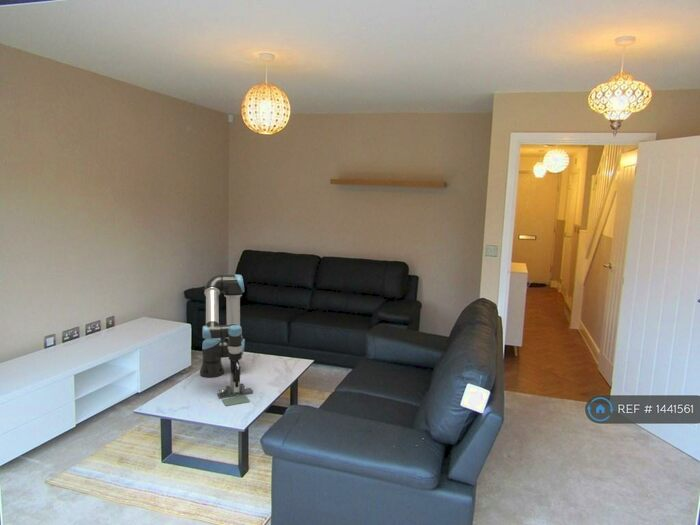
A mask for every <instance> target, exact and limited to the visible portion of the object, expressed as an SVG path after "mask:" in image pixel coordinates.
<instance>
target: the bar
mask: <svg viewBox="0 0 700 525" xmlns="http://www.w3.org/2000/svg"><path fill="white" fill-rule="evenodd" d="M229 374H230V376H229V378H230V379H229V380H230V385H229V386H230V388H231V398H233V397H239V396H241V394H240V384H241V381H240V382H239V392H234V382H233V381H234V371H231V370H229ZM240 376H241V371H240Z"/></svg>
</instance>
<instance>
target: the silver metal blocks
mask: <svg viewBox="0 0 700 525" xmlns="http://www.w3.org/2000/svg"><path fill="white" fill-rule="evenodd" d="M250 394H251V395H252V394H254V390H253V389H252V388H251V387H249V388H248V387H247V388H246V386H245V385H244V383H240V396H245V395H246V396H247V395H250ZM216 397H217V398H218V399H219V400H220V399H221V400H222V399H227V398H232V395H231V388H230V385H226V386H225V389H221V387H218V392H217V393H216Z"/></svg>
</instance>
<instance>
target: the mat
mask: <svg viewBox="0 0 700 525" xmlns="http://www.w3.org/2000/svg"><path fill="white" fill-rule="evenodd" d="M221 401H222V404H224V406H225V407H230V406H234V405H235V406H236V405H241V404H247V403H251V401H250V398H248V396H247V394H246V395H239V396H233V397H228V398H222V399H221Z"/></svg>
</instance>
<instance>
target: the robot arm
mask: <svg viewBox="0 0 700 525" xmlns="http://www.w3.org/2000/svg"><path fill="white" fill-rule="evenodd" d="M203 292H204V296H205V325H203V326H202V331H201V334H202V338H203V339H204V340H203V341H202V343H201V344H202V348H201V349H202V364H201V366H200V370H199V375H200V377H203V378H217V377H221V376H222V375H224V373H225V370H224V366H223V364H222V359H223V358H228V360H229V361H230V371H234V381H233V382H234V392H239V382H240V383H241V375H240V372H241V365H240V360H241V359H242V356H243V355H244V352H245V344H246V343H245V341H246V340H245V338H243V330H242V329H243V328H242V326H241V297H242V296H243V293H245V284H244V278H243V276H242V274H235V273H234V274H217V275H214V276H212V277H210V278H209V280H208V281H207V282H206V284H205V285H204V291H203ZM221 293H223V296H224V297H225V298H226V302H225V303H226V324H224V325H222V324H220V321H219V320H220V319H219V318H220V316H219V314H220V313H219V312H220V311H219V310H220V309H219V306H220V305H219V296H220V295H221Z"/></svg>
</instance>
